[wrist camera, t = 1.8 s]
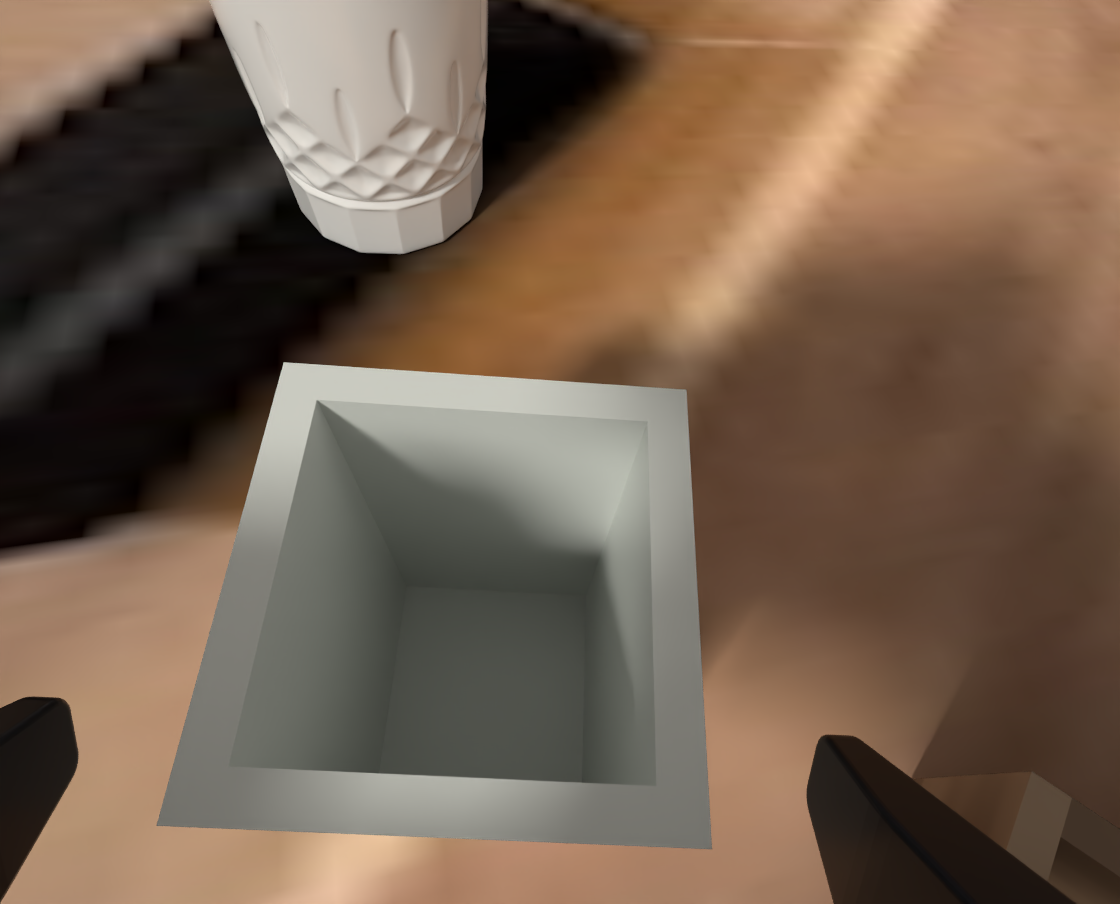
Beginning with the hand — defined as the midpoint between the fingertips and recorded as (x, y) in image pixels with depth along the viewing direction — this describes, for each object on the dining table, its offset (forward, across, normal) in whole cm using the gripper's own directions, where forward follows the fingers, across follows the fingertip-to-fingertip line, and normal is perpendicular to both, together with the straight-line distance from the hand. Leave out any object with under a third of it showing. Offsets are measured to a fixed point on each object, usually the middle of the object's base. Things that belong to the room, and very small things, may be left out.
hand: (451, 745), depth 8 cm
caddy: (+8, 0, +5) cm, 10 cm away
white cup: (+21, +5, -7) cm, 23 cm away
